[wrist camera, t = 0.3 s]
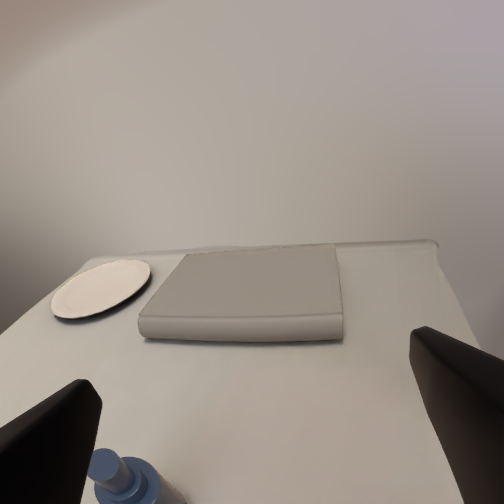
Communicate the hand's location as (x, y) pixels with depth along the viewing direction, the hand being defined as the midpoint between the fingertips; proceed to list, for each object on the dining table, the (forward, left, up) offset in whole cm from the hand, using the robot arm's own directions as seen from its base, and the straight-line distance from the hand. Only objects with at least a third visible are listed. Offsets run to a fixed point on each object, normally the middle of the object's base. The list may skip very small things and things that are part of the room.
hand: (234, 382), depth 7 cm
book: (+30, +4, -17) cm, 35 cm away
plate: (+37, +32, -17) cm, 52 cm away
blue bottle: (+1, +9, -17) cm, 19 cm away
